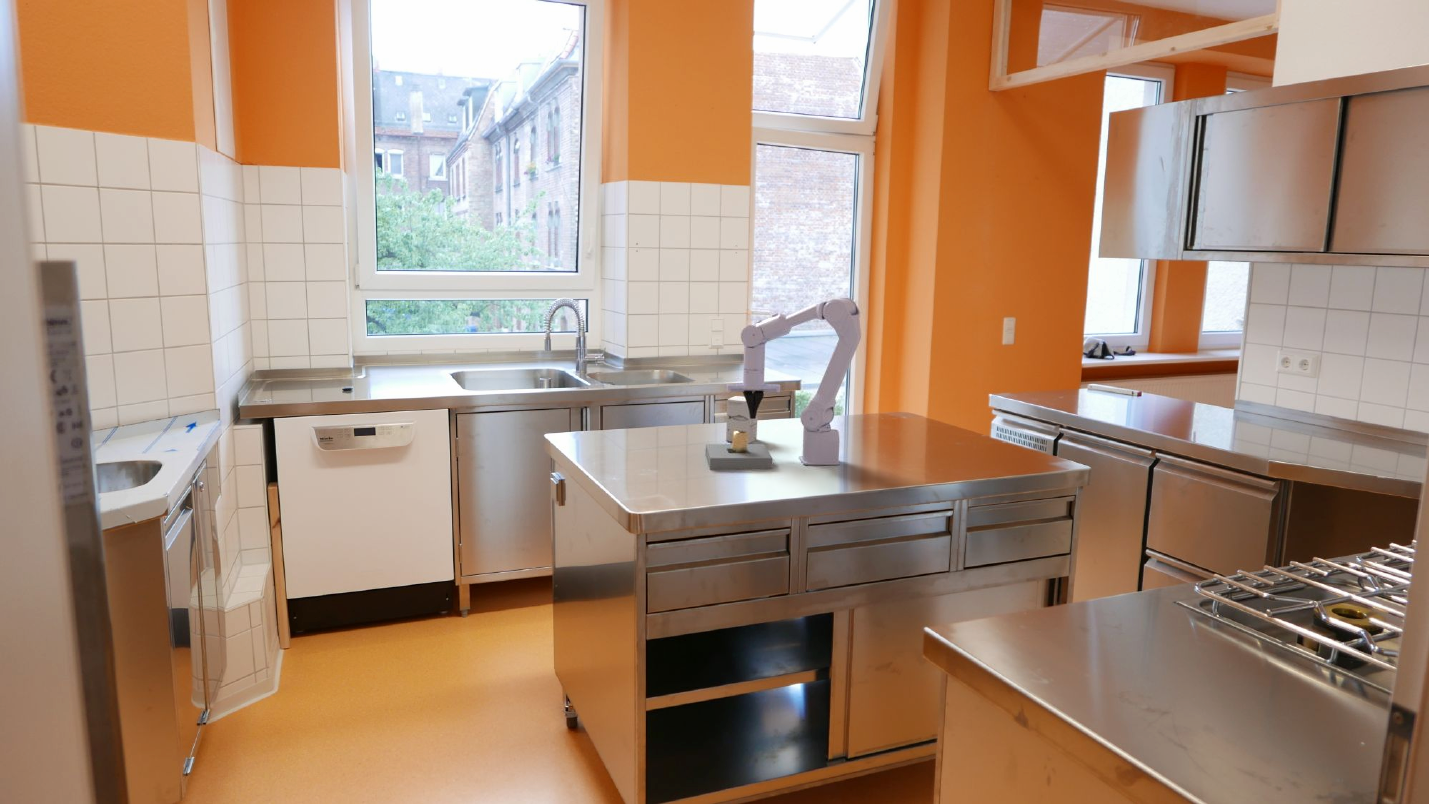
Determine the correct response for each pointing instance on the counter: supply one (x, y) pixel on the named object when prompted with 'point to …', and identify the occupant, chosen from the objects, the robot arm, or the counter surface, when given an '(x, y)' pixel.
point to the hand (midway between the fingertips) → (752, 418)
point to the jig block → (737, 457)
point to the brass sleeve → (740, 441)
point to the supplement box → (740, 419)
